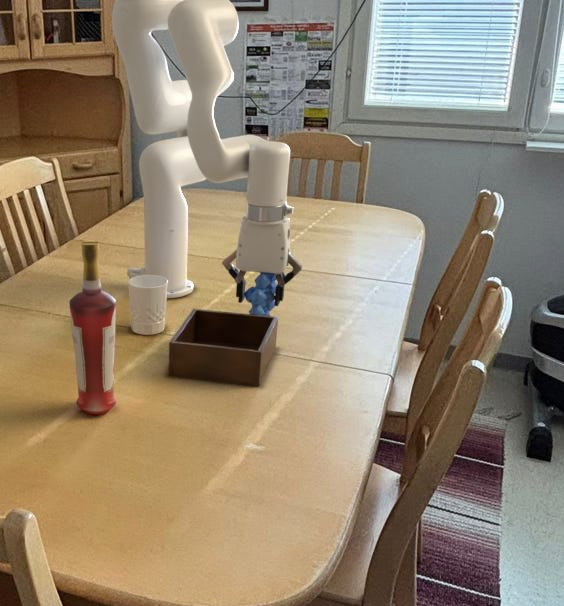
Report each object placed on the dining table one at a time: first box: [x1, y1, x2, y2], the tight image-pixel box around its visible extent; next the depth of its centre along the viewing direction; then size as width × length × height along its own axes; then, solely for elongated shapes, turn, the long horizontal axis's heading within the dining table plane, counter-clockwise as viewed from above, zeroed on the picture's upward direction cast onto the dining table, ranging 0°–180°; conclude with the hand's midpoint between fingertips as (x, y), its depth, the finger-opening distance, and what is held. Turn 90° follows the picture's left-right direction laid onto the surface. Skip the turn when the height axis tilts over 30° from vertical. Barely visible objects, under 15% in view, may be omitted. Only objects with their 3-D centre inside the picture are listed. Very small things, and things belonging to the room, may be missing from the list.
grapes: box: [244, 272, 278, 316], centre depth 173 cm, size 12×7×12 cm, turn 154°
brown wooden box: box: [168, 308, 279, 387], centre depth 159 cm, size 17×18×6 cm
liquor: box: [68, 239, 118, 416], centre depth 137 cm, size 7×7×28 cm
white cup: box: [127, 275, 168, 336], centre depth 172 cm, size 8×8×10 cm
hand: (259, 301), depth 174 cm, fingers closed on grapes, 6 cm apart
